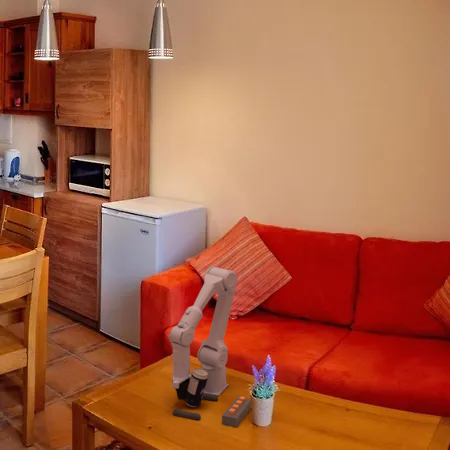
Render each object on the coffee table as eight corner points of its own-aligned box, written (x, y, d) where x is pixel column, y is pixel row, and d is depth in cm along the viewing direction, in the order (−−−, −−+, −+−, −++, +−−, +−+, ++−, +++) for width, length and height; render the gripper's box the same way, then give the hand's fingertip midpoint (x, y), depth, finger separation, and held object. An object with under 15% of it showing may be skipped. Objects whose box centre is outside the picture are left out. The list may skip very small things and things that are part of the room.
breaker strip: (237, 404, 208) (238, 393, 208) (251, 407, 206) (251, 395, 206) (221, 424, 196) (221, 412, 195) (236, 427, 194) (236, 415, 193)
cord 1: (174, 413, 203) (174, 407, 203) (201, 418, 199) (201, 413, 199) (171, 415, 201) (171, 410, 201) (199, 421, 198) (199, 415, 197)
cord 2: (192, 394, 216) (192, 389, 215) (218, 400, 212) (218, 394, 212) (190, 397, 214) (190, 392, 214) (216, 402, 210) (216, 397, 210)
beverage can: (198, 410, 204) (207, 377, 202) (182, 405, 205) (191, 372, 202) (201, 402, 210) (210, 371, 208) (185, 397, 210) (194, 366, 208)
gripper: (187, 371, 198) (187, 410, 200) (198, 354, 212) (198, 390, 214) (166, 369, 199) (166, 408, 202) (178, 352, 213) (179, 388, 216)
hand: (181, 399), depth 208 cm, fingers closed, pressing on beverage can
